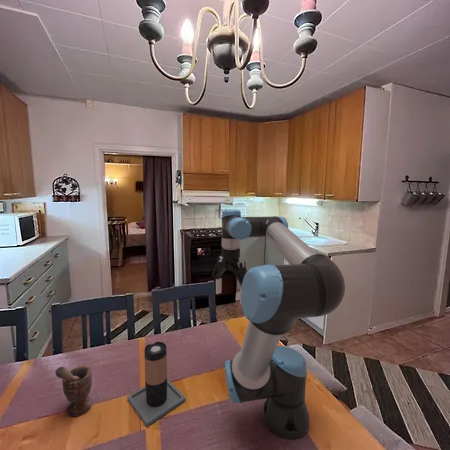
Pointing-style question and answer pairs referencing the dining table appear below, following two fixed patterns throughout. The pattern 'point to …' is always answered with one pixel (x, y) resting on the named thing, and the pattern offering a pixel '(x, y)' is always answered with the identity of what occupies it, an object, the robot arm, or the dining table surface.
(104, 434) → the dining table surface
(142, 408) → the slate tray
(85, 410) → the mortar and pestle
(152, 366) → the travel mug
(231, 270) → the robot arm
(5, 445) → the dining table surface
